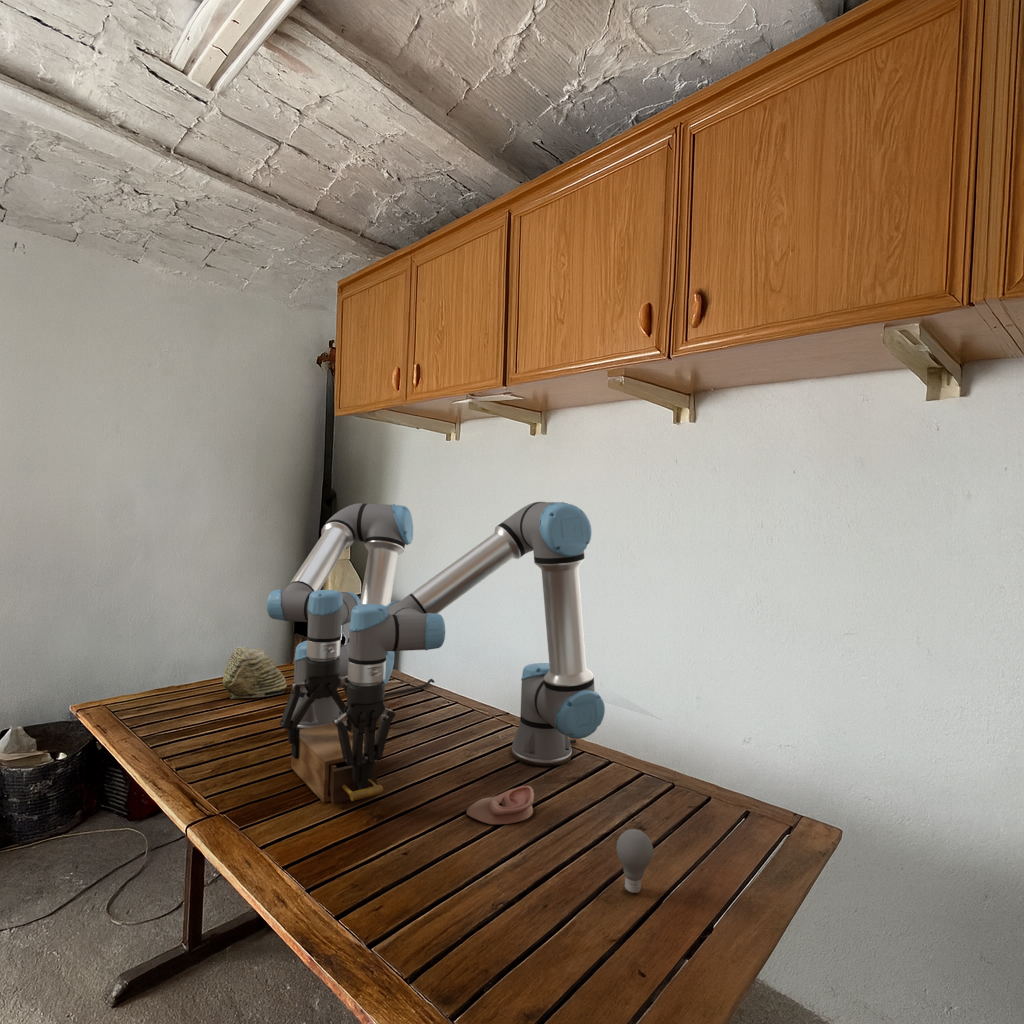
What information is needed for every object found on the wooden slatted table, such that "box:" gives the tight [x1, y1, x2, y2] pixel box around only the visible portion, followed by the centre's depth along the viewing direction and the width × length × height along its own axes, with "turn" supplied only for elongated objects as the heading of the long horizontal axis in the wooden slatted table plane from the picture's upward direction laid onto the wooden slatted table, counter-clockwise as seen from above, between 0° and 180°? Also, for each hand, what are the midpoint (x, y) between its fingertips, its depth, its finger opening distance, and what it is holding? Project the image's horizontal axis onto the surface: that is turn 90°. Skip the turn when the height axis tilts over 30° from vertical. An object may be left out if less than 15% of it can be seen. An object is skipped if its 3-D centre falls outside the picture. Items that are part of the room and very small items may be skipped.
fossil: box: [222, 646, 288, 699], centre depth 198 cm, size 9×18×15 cm, turn 132°
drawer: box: [328, 757, 384, 805], centre depth 137 cm, size 25×10×7 cm, turn 38°
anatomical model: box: [465, 785, 535, 825], centre depth 130 cm, size 13×4×12 cm
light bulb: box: [615, 828, 654, 894], centre depth 106 cm, size 6×6×10 cm
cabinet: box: [290, 723, 364, 803], centre depth 142 cm, size 20×11×9 cm, turn 38°
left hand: (319, 751), depth 148 cm, fingers closed on cabinet, 11 cm apart
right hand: (361, 795), depth 130 cm, fingers closed
